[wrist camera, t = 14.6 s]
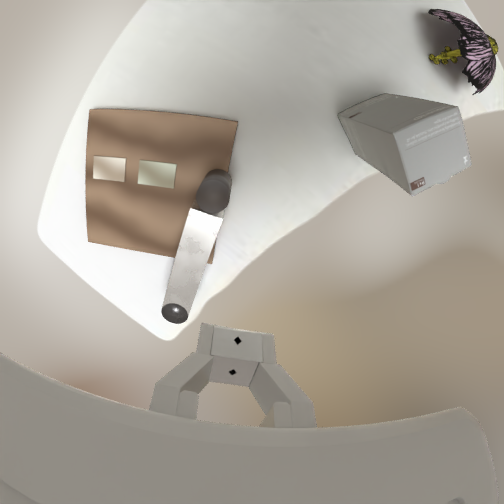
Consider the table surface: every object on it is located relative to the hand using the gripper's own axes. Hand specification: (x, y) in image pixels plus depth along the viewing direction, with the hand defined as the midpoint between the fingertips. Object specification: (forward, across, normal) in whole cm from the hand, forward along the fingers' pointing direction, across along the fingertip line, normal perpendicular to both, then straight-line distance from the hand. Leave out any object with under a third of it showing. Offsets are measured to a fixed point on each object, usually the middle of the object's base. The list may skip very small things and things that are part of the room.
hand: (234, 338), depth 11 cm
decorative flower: (+29, -24, -29) cm, 47 cm away
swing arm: (+25, +5, +13) cm, 28 cm away
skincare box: (+28, -15, -11) cm, 34 cm away
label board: (+28, +12, +4) cm, 30 cm away
